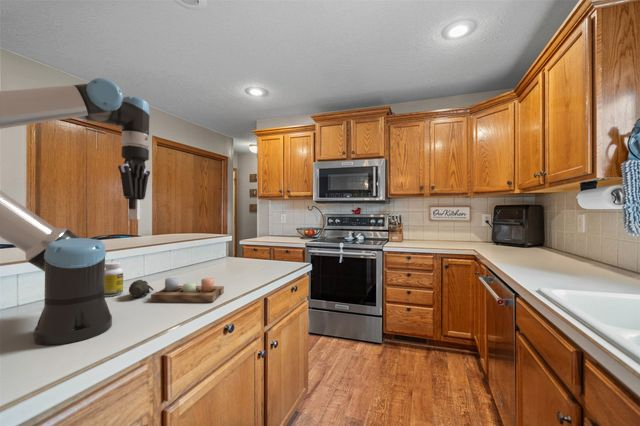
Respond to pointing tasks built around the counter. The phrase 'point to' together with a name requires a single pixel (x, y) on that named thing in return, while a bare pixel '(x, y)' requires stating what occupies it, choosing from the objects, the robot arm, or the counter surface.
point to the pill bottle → (113, 279)
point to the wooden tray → (188, 295)
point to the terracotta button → (207, 285)
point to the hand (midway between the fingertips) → (134, 219)
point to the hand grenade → (139, 288)
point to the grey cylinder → (171, 284)
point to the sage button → (189, 287)
